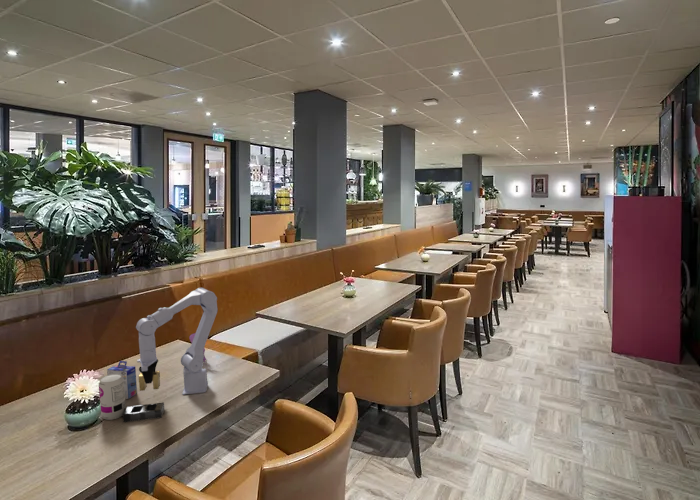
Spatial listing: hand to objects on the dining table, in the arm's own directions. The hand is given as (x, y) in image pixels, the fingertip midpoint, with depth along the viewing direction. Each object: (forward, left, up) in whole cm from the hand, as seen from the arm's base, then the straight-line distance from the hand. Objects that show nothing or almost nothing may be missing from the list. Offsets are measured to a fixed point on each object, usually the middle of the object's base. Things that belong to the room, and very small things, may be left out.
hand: (150, 380), depth 164 cm
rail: (+1, +10, -10) cm, 14 cm away
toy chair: (-13, -37, -10) cm, 40 cm away
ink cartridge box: (+13, -10, -10) cm, 19 cm away
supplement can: (+12, +6, -10) cm, 17 cm away
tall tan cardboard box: (0, 0, -3) cm, 3 cm away
